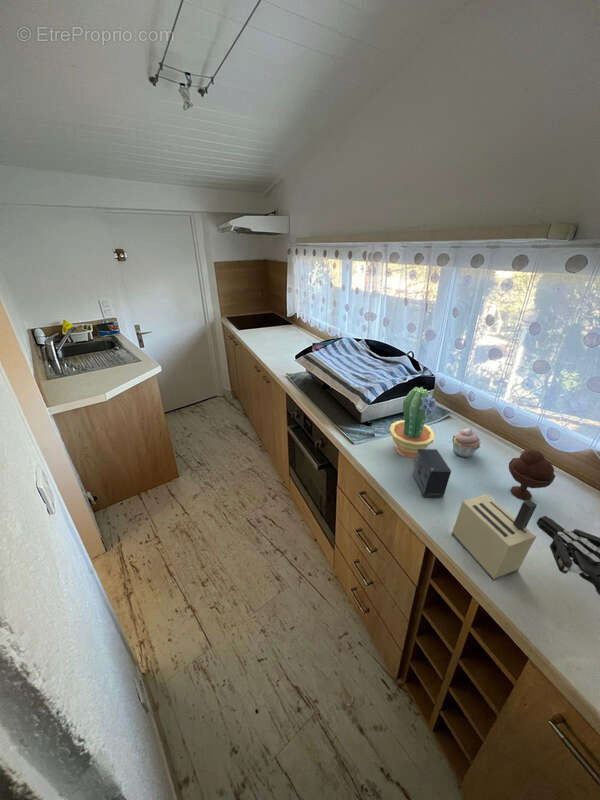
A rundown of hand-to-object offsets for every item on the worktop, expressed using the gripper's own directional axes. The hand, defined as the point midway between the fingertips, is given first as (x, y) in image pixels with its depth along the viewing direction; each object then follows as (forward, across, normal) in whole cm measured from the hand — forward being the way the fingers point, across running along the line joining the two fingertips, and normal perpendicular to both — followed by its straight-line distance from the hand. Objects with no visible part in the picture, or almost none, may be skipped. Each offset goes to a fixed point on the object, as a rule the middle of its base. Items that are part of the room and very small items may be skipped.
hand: (540, 519), depth 63 cm
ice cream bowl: (+18, -24, +18) cm, 35 cm away
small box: (+30, 0, +18) cm, 34 cm away
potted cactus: (+47, -5, +18) cm, 51 cm away
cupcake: (+39, -23, +18) cm, 49 cm away
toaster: (+6, +2, +18) cm, 19 cm away
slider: (+3, 0, +5) cm, 6 cm away
